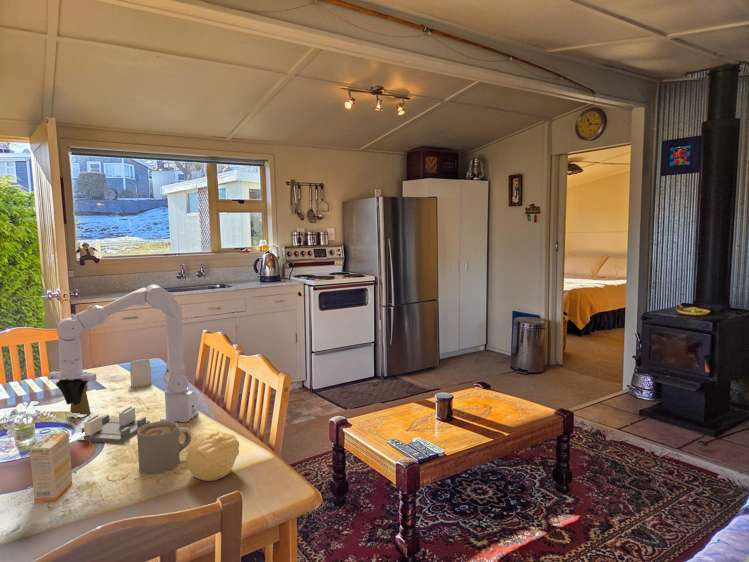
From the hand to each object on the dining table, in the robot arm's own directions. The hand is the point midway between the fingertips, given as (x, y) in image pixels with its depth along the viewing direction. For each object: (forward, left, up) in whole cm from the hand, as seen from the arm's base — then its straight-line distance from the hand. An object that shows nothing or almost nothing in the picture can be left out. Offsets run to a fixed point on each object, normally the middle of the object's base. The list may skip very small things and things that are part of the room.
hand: (73, 403), depth 150 cm
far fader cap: (-12, -8, -8) cm, 16 cm away
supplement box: (-19, +30, -10) cm, 37 cm away
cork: (+10, -15, -10) cm, 21 cm away
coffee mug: (-37, +12, -10) cm, 40 cm away
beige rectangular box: (+9, -47, -10) cm, 49 cm away
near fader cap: (-6, 0, -8) cm, 10 cm away
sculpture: (-52, +16, -10) cm, 55 cm away
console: (-10, -4, -10) cm, 15 cm away
